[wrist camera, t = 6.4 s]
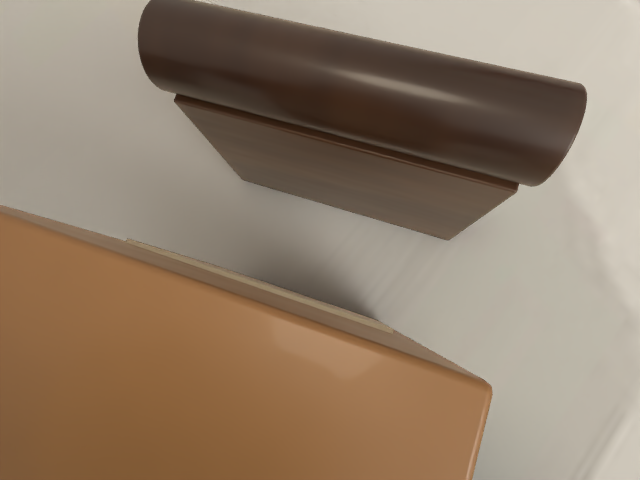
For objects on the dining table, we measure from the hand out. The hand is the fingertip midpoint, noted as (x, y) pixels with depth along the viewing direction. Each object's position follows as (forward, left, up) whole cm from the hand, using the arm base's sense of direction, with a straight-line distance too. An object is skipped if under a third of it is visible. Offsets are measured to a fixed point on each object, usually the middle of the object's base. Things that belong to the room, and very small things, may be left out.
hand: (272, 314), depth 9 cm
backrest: (+6, 0, -7) cm, 9 cm away
